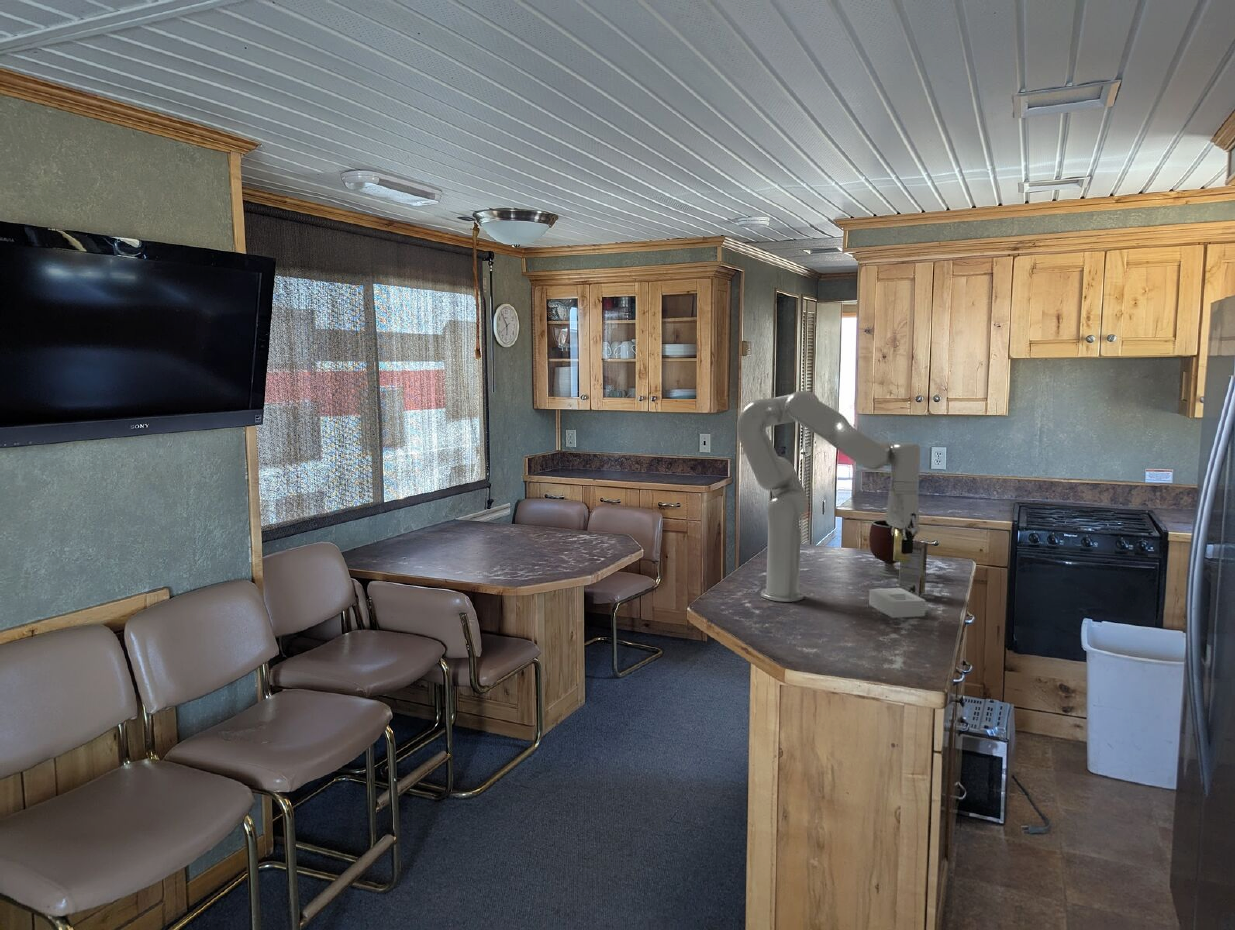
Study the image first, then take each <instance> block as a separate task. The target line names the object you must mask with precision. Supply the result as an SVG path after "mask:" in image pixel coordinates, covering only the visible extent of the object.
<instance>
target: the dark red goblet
mask: <svg viewBox="0 0 1235 930" xmlns="http://www.w3.org/2000/svg"><path fill="white" fill-rule="evenodd" d="M907 528H910V527H907ZM868 537H869V538H868V541H869V548H870V552H871V553H872V555H873V556H874V558H875V559H877V560H879V561H881V562H883V563H885V564H884V565H883V566H880V567H872V568H870V569H869V573H870V574H871V575H873V576H876V577H879V578H887V579H899V572H900V568H896V567H895V564H897V563H898V562H897V561H894V560H893V555H894V550H892V535H891V528H890V525H888V524H887V522H886V519H878V520H877V519H876V520H873V521H871V525H870V528H869V535H868Z"/></svg>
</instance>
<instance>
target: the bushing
mask: <svg viewBox="0 0 1235 930" xmlns="http://www.w3.org/2000/svg"><path fill="white" fill-rule="evenodd" d="M909 531H910V530H907V533H908V532H909ZM902 539H903V529H899V528H894V555H893V560H894V561H897V563H900V562H909V561H910V554H902V553H901V546H902Z"/></svg>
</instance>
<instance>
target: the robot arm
mask: <svg viewBox="0 0 1235 930" xmlns="http://www.w3.org/2000/svg"><path fill="white" fill-rule="evenodd" d="M793 422H796V423H798V424H799V425H801V426H803V427H804V428H806V429H808V430H809V431H811V432H813V433H814V434H816V435H817V436H819V437H821V438H822V439H823V440H825V441H827V443H828V444H829V445H831V446H832V447H834V448H835V449H836V450H838V451H839V452H840V453H842V454H843V455H844V456H846V457H847V458H848V459H851V460H852V461H854V462H855V463H857V464H859V465H861V466H862V467H864V468H866V469H868V470H872V471H873V470H879V469H882V468H883V467H890V482H889V483H890V484H889V488H890V489H889V493H888V497H887V502H886V503H887V504H886V515H885V520H886V522H887V524H888V525H890V528H891V535H892V550H894V528H899V529H903V539H902V546H901V553H902V554H911V553H913V541H915V536H916V535H917V534H918V533H919V532H920V529H919V525H920V502H919V501H920V500H919V493H920V492H919V490H920V469H921V468H920V467H921V446H920V444H918V443H916V442H907V441H906V442H902V441H901V442H891V441H887V440H873V439H871V438H870V437H868V436H867V435H865V434H863V433H862V432H860V431H858V430H857V429H855V428H854V427H853V426H852V424H851V423H849V421H848V419H847V418H846V416H844V415H843V414H842V413H840V412H838V411H837V410H835V409H834V408H832V407H830V406H829V405H827V404H825V403H824V402H822V401H820V399H819V397H818V396H817V395H816V394H815V393H814V392H811V391H809V390H799V391H795V392H792V393H790V394H785V395H781V396H776V397H770V398H762V399H755V400H753V401H750V402H749V403H748V404H747V405H746V406H744V408H743V409H742V410H741V412H740V414H739V416H738V418H737V423H736V433H737V436H738V439H739V442H740V444H741V446H742V448H743V451H744V453H745V456H746V458H747V460H748V463H749V465H750V468H751V470H752V472H753V474H754V478H755V479H756V480H755V481H756V482H757V484H758V485H759V486H760V487H761V488H762V489H763V490H765V491H770V492H771V494H772V496H773V497H772V498H771V499H770V500H769V502H768V505H767V510H766V519H767V554H766V555H767V556H766V560H767V561H766V580H765V582H766V585H765V588H763V589H761V590H760V596H761V597H762V598H763V599H765V600H770V601H775V602H783V603H788V602H789V603H790V602H791V603H792V602H793V603H794V602H798V601H801V600H803V599H804V593H803V591H801V590H799V582H800V581H799V580H800V560H801V559H800V558H801V518H802V517H803V516H804V515H805V514H806V513H807V511H808V510H809V509H808V508H809V500H808V496H807V494H806V491H805V490H804V487H803V485H802V483H801V480H800V479H799V476H798V474H797V471H796V470H795V468H794V466H793V464H792V463H791V461H790V460H788V459H787V458H785V457H783V456H779V455H778V453H777V451H776V449H775V447H774V444H773V441H771V439H770V437H769V436H768V434H767V428H769V427H774V426H777V425H778V426H779V425H782V424H783V425H784V424H789V423H793ZM907 527H910V528H907ZM907 530H910V531H909V532H908V533H907Z"/></svg>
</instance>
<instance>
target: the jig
mask: <svg viewBox="0 0 1235 930" xmlns="http://www.w3.org/2000/svg"><path fill="white" fill-rule="evenodd" d="M926 603H927V600H925V599H923V598H922V597H921V598H920V597H918V596H916V595H914V594H912V593H910V592H908V591H906V590H904V589H902V588H899V587H895V588H894V587H892V588H874V589H869V594H868V605H869V606H870V607H872V608H874V609H876V610H878V611H879V612H881V613H883V614H885V615H887V616H889V617H890V618H892V619H895V618H897V619H898V618H914V617H915V618H917V617H926V606H927V604H926Z"/></svg>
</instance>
